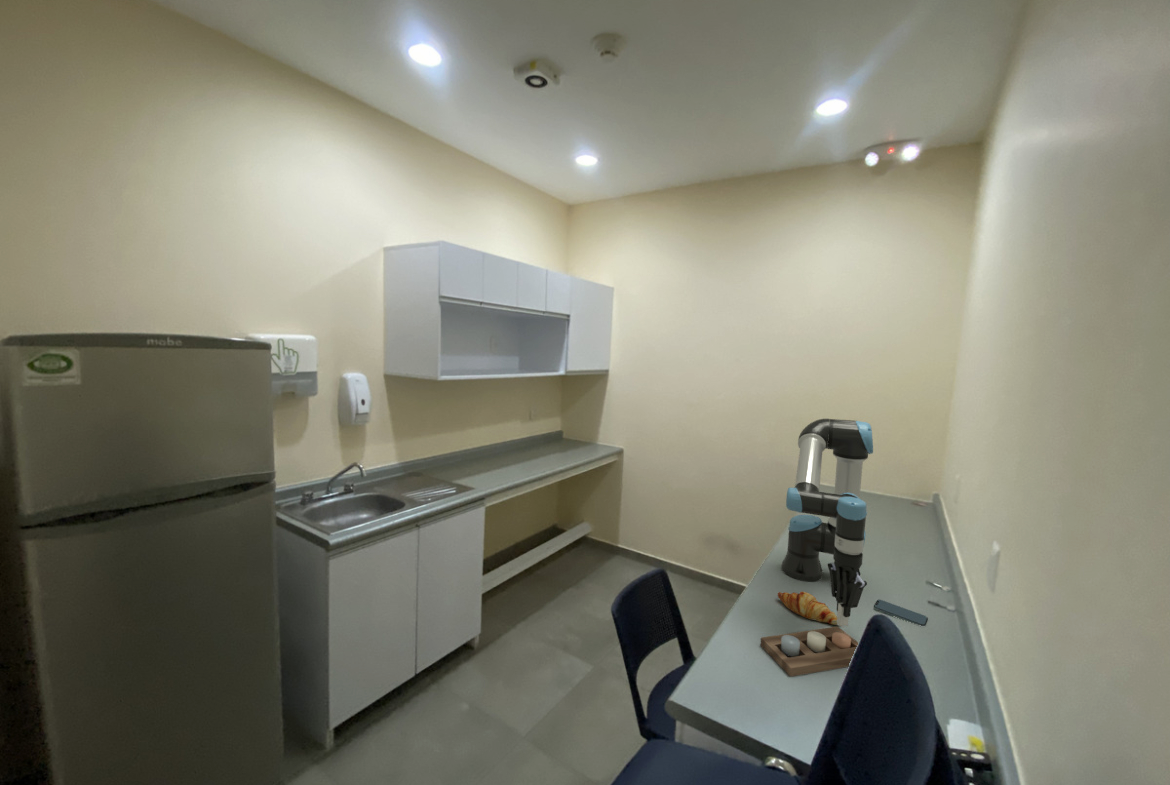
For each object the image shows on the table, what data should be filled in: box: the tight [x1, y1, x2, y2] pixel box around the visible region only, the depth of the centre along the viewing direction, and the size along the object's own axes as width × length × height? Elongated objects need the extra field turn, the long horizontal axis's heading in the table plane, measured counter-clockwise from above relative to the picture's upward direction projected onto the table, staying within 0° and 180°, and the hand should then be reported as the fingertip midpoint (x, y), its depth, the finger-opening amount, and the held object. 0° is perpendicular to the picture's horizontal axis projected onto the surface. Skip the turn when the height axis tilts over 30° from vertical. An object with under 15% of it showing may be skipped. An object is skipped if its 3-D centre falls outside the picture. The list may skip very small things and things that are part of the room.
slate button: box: [781, 635, 800, 658], centre depth 138 cm, size 5×5×4 cm
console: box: [760, 625, 858, 678], centre depth 140 cm, size 14×28×2 cm, turn 104°
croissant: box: [777, 591, 838, 626], centre depth 162 cm, size 21×10×8 cm, turn 42°
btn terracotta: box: [832, 632, 851, 649], centre depth 142 cm, size 5×5×4 cm
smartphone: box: [873, 599, 929, 627], centre depth 162 cm, size 8×2×15 cm
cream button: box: [807, 631, 826, 653], centre depth 140 cm, size 5×5×4 cm
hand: (842, 624), depth 142 cm, fingers closed
